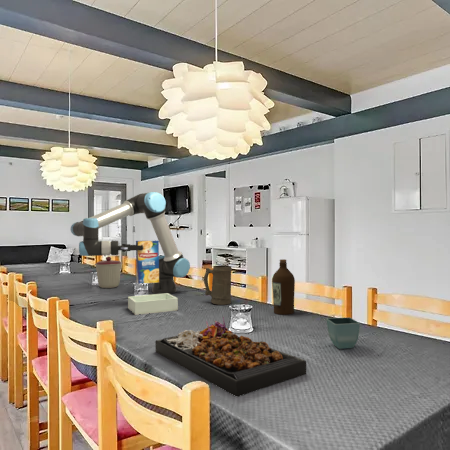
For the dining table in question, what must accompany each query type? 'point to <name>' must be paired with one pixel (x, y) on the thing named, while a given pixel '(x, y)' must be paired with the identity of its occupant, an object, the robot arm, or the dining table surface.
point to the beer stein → (219, 284)
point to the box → (152, 303)
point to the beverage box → (147, 262)
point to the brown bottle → (283, 290)
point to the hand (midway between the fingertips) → (156, 247)
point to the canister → (108, 273)
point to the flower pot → (343, 332)
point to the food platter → (230, 359)
